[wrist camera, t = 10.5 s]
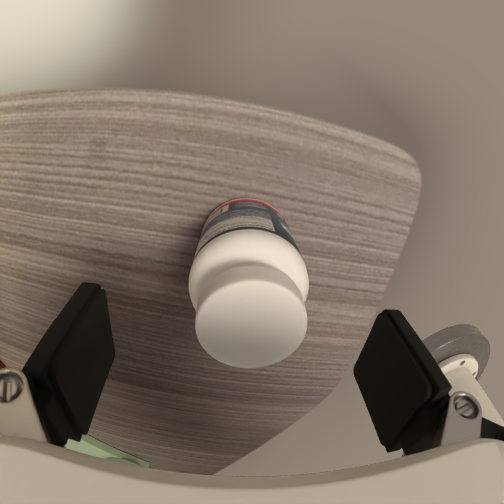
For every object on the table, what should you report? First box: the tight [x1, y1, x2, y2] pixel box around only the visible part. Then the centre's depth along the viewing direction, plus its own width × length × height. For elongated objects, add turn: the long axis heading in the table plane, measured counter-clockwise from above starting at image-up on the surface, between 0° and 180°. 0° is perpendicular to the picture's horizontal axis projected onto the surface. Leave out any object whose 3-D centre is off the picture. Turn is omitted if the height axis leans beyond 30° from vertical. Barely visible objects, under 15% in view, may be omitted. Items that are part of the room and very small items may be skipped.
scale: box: [65, 434, 150, 468], centre depth 30 cm, size 12×14×3 cm
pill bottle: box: [189, 198, 309, 368], centre depth 14 cm, size 5×5×9 cm
